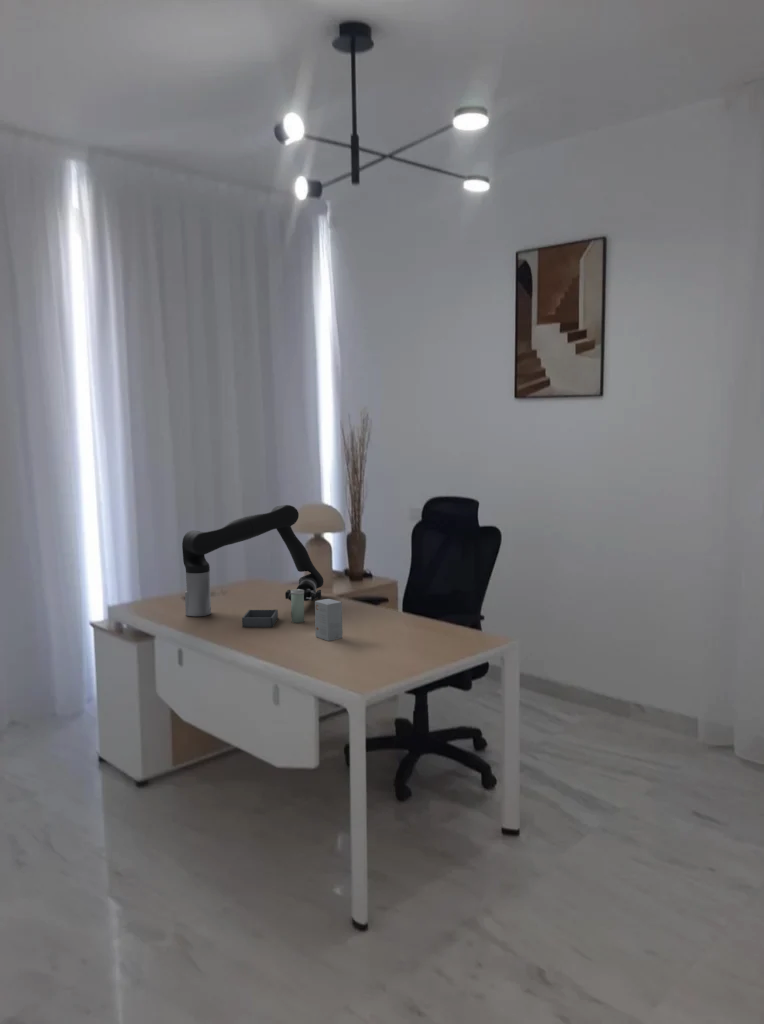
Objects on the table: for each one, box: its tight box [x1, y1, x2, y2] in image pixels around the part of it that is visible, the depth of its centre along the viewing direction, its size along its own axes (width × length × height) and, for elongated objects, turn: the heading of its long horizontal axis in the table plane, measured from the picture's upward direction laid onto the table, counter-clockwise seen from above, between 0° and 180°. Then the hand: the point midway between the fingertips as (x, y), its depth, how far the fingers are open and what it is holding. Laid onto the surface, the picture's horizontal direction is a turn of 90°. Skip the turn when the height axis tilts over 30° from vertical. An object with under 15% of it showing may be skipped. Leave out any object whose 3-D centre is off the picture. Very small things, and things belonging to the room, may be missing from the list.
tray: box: [241, 609, 279, 628], centre depth 305 cm, size 11×13×4 cm
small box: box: [314, 598, 343, 642], centre depth 283 cm, size 8×6×13 cm
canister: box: [290, 588, 305, 624], centre depth 306 cm, size 5×5×12 cm
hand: (301, 598), depth 318 cm, fingers open, 8 cm apart
